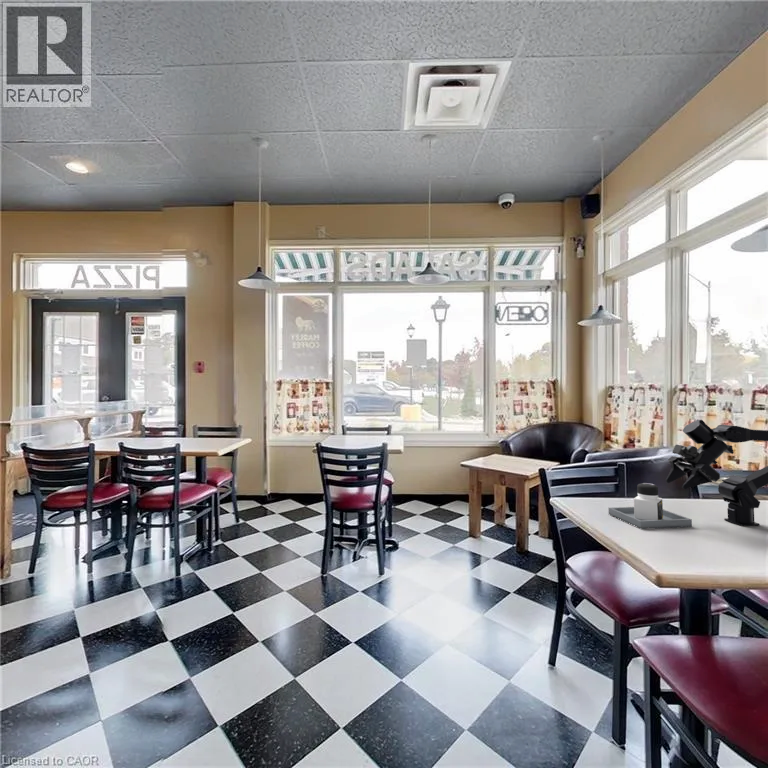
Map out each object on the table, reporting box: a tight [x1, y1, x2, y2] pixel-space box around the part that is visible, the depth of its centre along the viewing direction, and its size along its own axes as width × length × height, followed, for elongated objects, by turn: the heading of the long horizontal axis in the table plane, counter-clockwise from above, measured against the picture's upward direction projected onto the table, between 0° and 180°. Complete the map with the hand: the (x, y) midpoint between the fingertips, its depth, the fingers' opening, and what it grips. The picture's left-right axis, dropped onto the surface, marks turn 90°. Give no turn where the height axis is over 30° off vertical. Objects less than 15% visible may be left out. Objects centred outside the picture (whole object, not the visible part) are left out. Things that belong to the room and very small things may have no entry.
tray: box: [608, 506, 693, 529], centre depth 135 cm, size 18×16×2 cm
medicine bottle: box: [633, 482, 664, 520], centre depth 135 cm, size 7×7×12 cm
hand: (674, 484), depth 134 cm, fingers open, 9 cm apart
